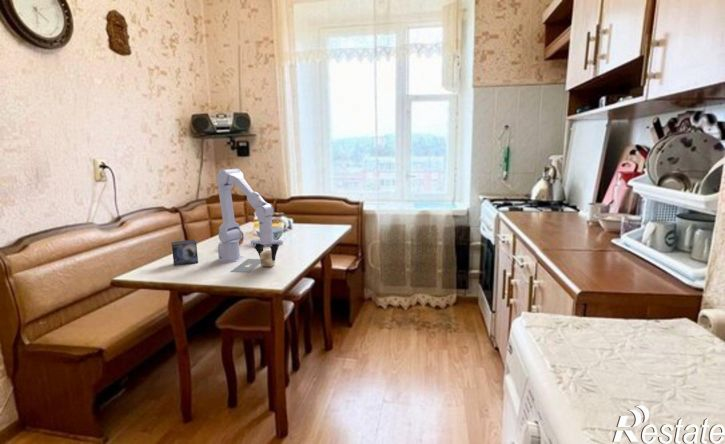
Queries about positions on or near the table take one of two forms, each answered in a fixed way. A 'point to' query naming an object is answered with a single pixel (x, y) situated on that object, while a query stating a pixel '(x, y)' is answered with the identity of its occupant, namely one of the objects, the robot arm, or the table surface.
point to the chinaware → (274, 232)
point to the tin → (241, 239)
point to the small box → (184, 252)
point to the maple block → (266, 258)
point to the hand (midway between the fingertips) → (268, 260)
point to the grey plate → (247, 266)
